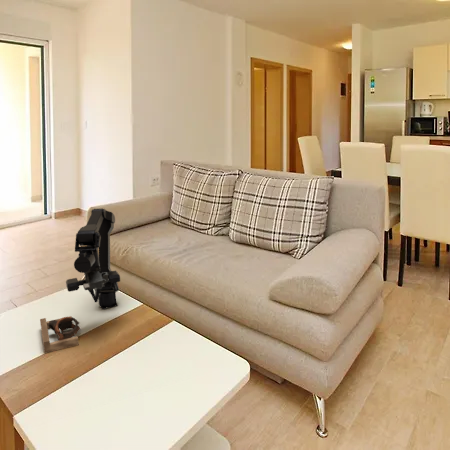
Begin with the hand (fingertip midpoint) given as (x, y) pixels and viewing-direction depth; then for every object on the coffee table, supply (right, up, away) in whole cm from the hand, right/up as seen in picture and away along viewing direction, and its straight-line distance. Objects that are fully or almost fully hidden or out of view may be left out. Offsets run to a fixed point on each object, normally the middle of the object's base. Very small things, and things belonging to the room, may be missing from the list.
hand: (95, 301), depth 158 cm
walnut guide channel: (-10, -11, -6) cm, 16 cm away
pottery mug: (-9, -12, -5) cm, 16 cm away
